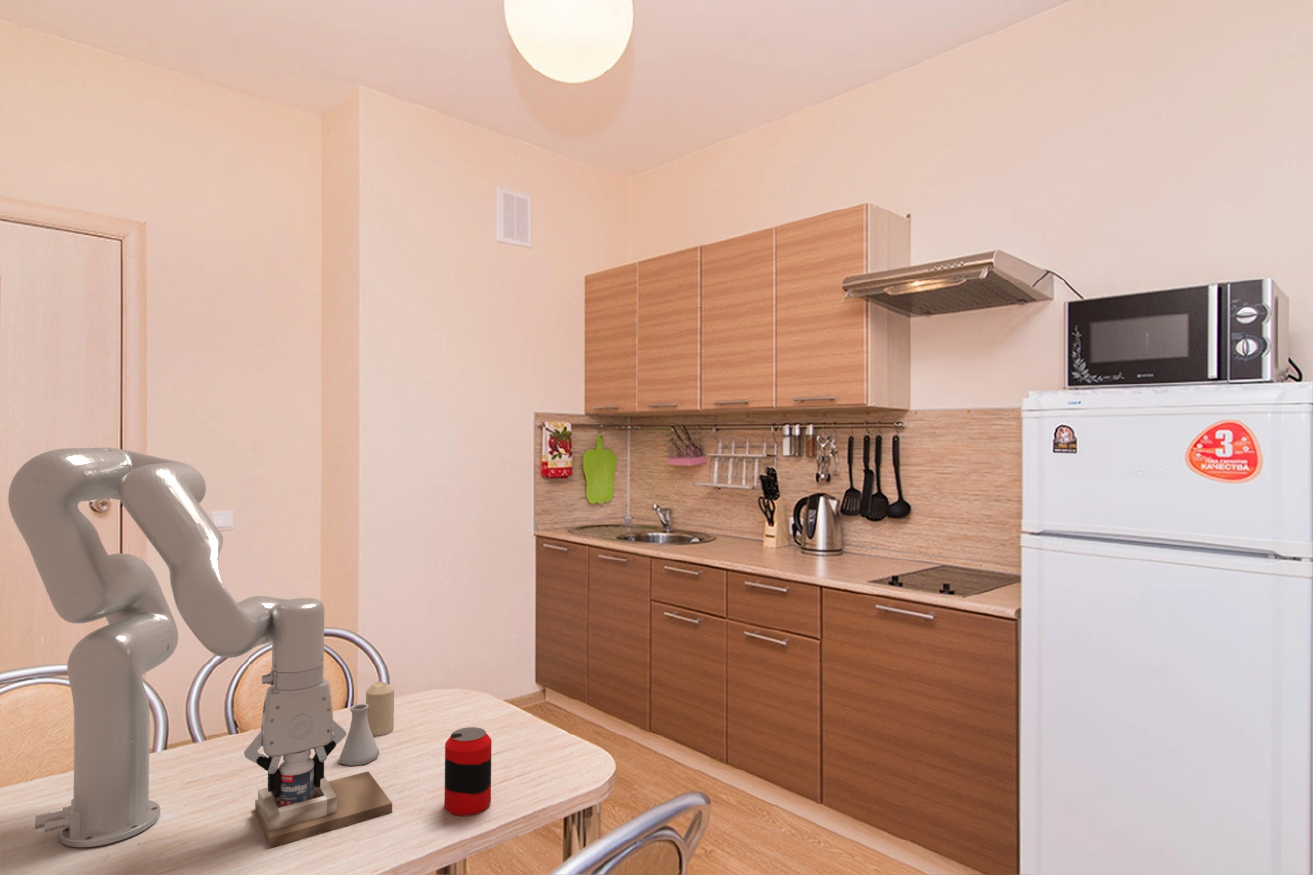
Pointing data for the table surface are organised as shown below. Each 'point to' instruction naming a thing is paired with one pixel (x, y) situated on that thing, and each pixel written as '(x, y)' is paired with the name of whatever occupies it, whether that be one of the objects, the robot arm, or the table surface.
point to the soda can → (467, 771)
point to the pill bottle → (296, 778)
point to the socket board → (322, 809)
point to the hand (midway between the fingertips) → (296, 787)
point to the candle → (380, 708)
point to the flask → (359, 739)
